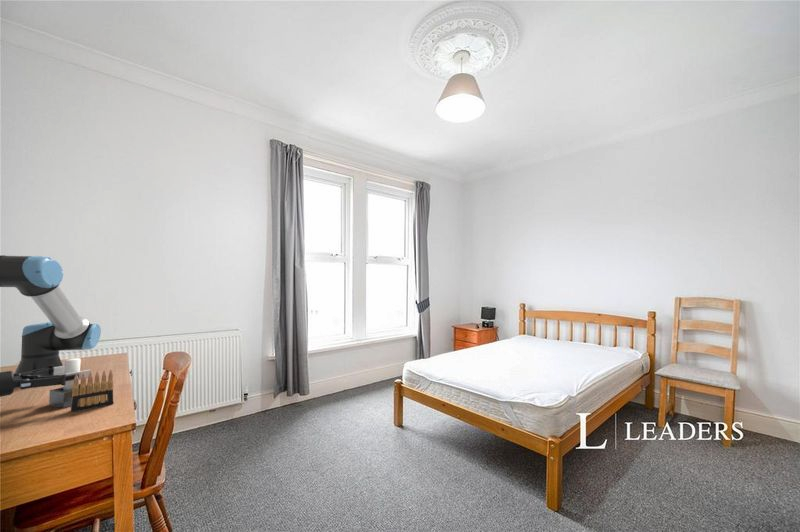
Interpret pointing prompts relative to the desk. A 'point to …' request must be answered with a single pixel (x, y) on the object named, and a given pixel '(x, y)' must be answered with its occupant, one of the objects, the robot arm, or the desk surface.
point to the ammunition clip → (92, 392)
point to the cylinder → (71, 371)
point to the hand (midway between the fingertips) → (84, 370)
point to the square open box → (61, 397)
